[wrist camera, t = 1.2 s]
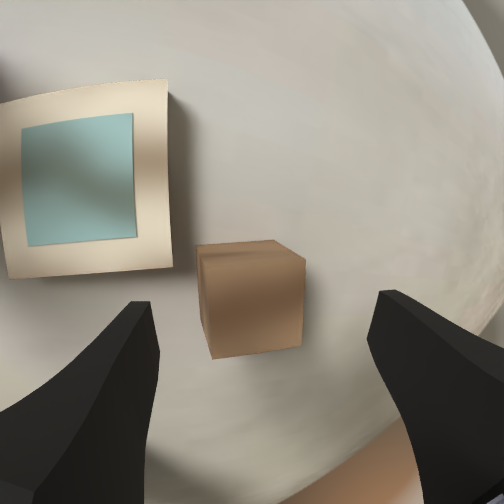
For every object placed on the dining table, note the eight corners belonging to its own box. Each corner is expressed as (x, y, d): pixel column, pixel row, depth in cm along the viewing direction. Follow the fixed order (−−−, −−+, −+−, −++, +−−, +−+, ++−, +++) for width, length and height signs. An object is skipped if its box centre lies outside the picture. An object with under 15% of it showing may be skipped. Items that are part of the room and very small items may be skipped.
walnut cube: (272, 310, 22) (301, 345, 17) (200, 319, 21) (212, 359, 16) (273, 239, 21) (305, 259, 16) (195, 245, 20) (206, 268, 15)
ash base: (171, 255, 19) (173, 267, 17) (24, 267, 17) (8, 280, 14) (167, 90, 17) (167, 78, 14) (15, 111, 14) (-3, 104, 12)
